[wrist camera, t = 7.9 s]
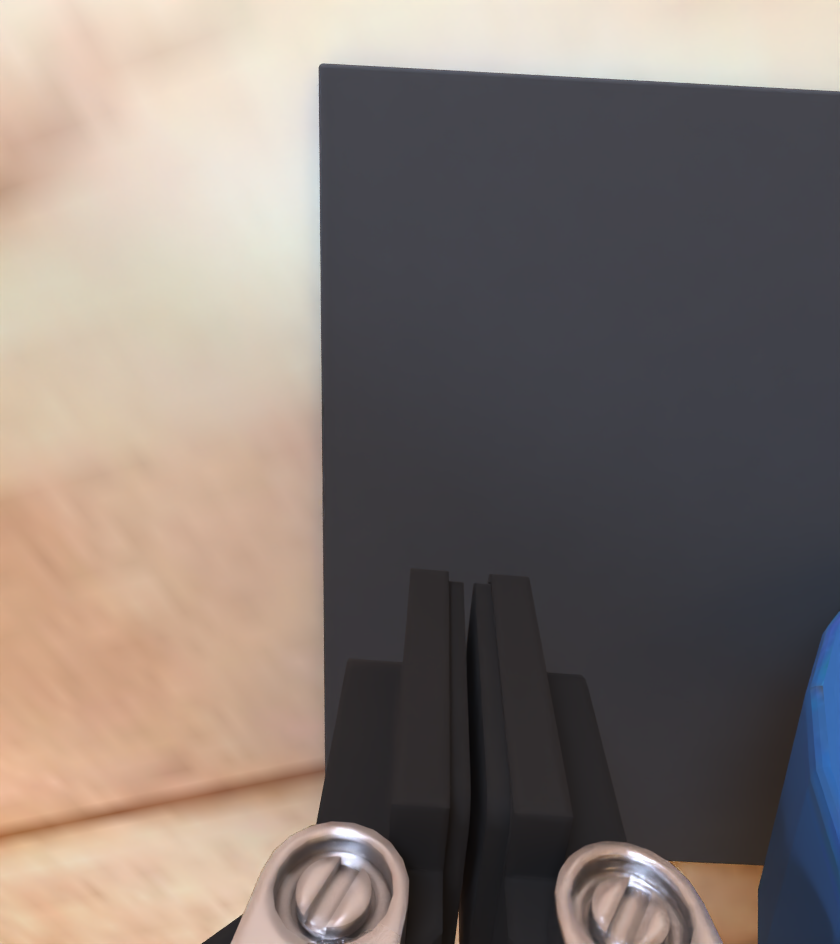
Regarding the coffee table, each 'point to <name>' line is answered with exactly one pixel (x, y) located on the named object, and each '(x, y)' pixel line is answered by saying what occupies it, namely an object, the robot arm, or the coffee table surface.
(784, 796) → the handheld scanner
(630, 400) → the mat
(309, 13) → the coffee table surface
